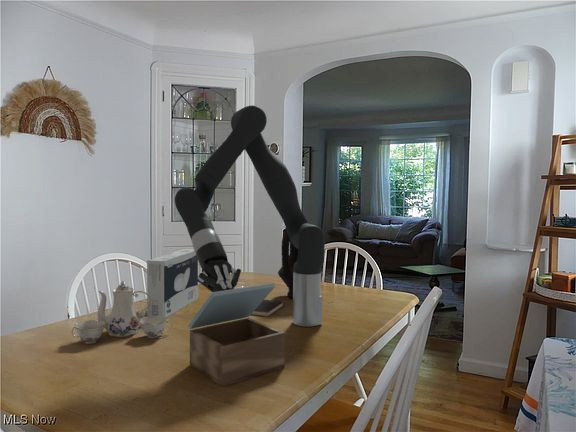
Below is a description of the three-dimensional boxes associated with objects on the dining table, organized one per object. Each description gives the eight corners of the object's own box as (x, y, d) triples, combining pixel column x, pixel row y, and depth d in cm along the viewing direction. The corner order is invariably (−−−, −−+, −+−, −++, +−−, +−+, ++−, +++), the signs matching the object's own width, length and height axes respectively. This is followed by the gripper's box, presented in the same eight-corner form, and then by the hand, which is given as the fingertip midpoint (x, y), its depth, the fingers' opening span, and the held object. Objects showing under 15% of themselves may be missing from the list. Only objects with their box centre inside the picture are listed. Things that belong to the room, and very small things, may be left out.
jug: (294, 289, 203) (295, 222, 201) (330, 295, 192) (332, 224, 190) (265, 298, 186) (265, 225, 184) (302, 305, 175) (303, 228, 173)
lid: (189, 329, 115) (188, 324, 116) (248, 316, 126) (247, 313, 127) (213, 296, 105) (211, 292, 106) (275, 286, 117) (273, 282, 117)
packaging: (163, 319, 155) (163, 261, 153) (147, 318, 156) (146, 260, 155) (198, 298, 184) (198, 249, 183) (184, 297, 186) (184, 248, 184)
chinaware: (70, 356, 125) (69, 298, 123) (72, 331, 140) (71, 280, 138) (174, 343, 136) (175, 290, 134) (165, 322, 151) (166, 274, 149)
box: (189, 364, 116) (189, 330, 115) (248, 349, 127) (248, 317, 127) (222, 386, 103) (222, 348, 103) (284, 367, 115) (284, 332, 114)
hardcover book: (267, 318, 160) (267, 311, 160) (210, 311, 168) (210, 304, 168) (283, 307, 175) (283, 301, 175) (230, 301, 183) (230, 295, 183)
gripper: (191, 242, 118) (213, 299, 110) (234, 239, 126) (258, 292, 118) (181, 259, 123) (202, 315, 114) (224, 255, 131) (246, 307, 122)
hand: (231, 303), depth 116 cm, fingers closed
